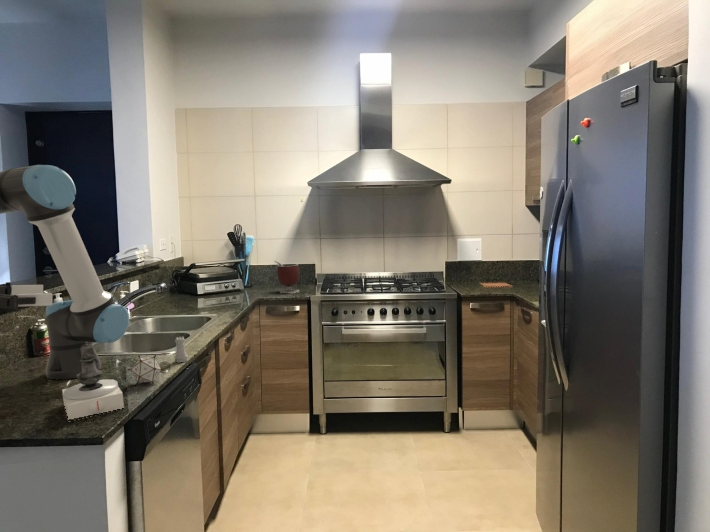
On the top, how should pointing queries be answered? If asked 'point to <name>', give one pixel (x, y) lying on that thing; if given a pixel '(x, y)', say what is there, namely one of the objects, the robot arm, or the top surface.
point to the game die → (145, 369)
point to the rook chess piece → (180, 351)
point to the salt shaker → (89, 369)
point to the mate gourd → (288, 276)
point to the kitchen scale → (92, 399)
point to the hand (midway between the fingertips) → (47, 294)
